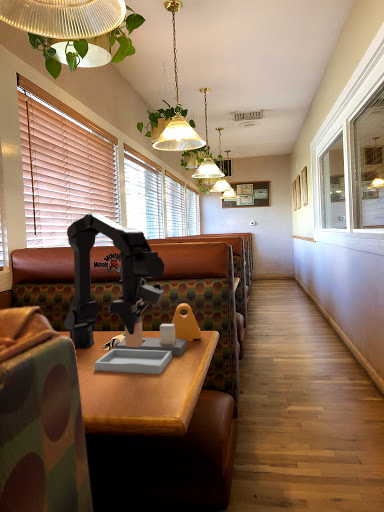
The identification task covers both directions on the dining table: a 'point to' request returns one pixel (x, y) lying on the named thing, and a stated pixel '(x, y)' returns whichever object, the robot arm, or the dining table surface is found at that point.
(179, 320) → the bracket
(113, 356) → the parts tray
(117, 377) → the dining table surface
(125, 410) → the dining table surface
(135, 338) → the block
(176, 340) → the block
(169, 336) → the block
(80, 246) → the robot arm
